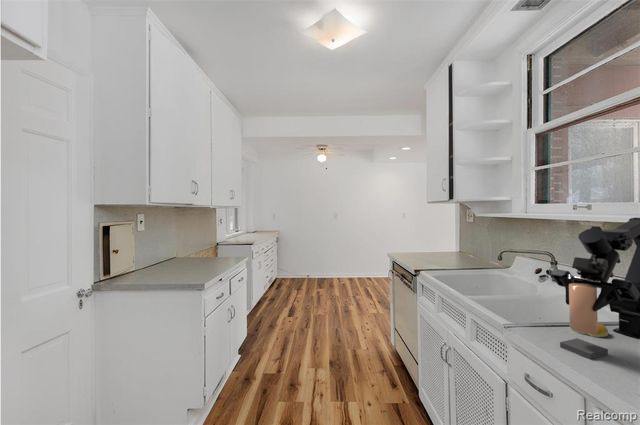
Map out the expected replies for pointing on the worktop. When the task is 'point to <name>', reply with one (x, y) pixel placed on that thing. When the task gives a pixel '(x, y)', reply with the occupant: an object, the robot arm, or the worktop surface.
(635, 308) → the robot arm
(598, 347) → the plate
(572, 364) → the worktop surface
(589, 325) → the peach cylinder
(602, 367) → the worktop surface
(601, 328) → the bread roll
